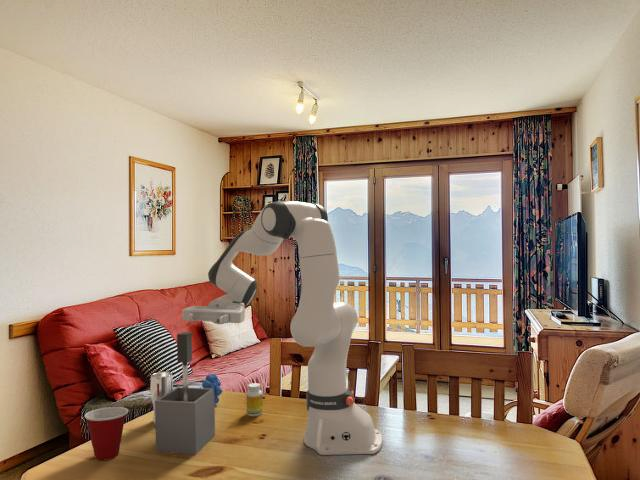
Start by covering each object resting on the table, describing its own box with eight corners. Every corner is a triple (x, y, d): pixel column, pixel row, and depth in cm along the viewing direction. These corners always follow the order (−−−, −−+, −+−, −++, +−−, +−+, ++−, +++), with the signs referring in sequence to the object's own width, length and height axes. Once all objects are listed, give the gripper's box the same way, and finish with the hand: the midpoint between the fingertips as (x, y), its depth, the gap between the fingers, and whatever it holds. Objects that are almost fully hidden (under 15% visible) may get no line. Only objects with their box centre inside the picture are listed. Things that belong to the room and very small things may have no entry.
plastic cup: (138, 449, 123) (137, 406, 123) (107, 468, 113) (106, 421, 113) (108, 444, 126) (107, 402, 127) (75, 461, 116) (74, 416, 116)
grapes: (214, 414, 147) (214, 378, 147) (196, 413, 148) (196, 377, 148) (230, 402, 158) (229, 369, 158) (213, 401, 160) (212, 368, 160)
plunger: (207, 404, 130) (206, 330, 130) (193, 416, 121) (191, 337, 121) (179, 403, 131) (177, 329, 132) (162, 414, 122) (161, 336, 123)
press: (215, 435, 131) (214, 388, 131) (196, 454, 119) (195, 403, 119) (178, 433, 133) (177, 387, 133) (155, 451, 121) (154, 401, 121)
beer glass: (159, 426, 138) (158, 379, 138) (146, 421, 142) (145, 375, 142) (178, 419, 143) (177, 373, 144) (165, 414, 148) (164, 370, 148)
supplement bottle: (246, 411, 149) (245, 383, 149) (262, 409, 150) (261, 381, 150) (247, 417, 144) (246, 388, 144) (263, 415, 145) (263, 386, 145)
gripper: (192, 300, 153) (173, 308, 139) (248, 303, 150) (235, 311, 136) (192, 318, 153) (173, 327, 139) (248, 321, 150) (234, 331, 137)
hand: (204, 319), depth 138 cm, fingers open, 8 cm apart
